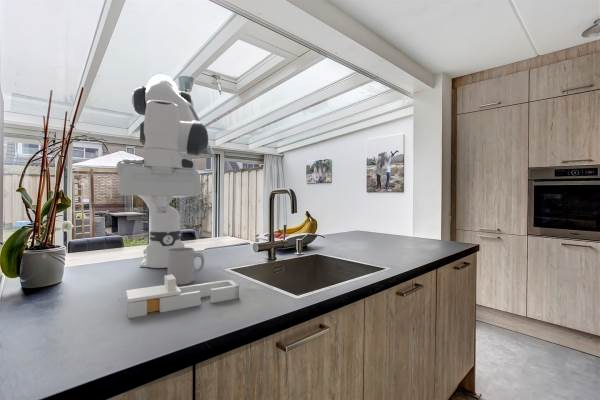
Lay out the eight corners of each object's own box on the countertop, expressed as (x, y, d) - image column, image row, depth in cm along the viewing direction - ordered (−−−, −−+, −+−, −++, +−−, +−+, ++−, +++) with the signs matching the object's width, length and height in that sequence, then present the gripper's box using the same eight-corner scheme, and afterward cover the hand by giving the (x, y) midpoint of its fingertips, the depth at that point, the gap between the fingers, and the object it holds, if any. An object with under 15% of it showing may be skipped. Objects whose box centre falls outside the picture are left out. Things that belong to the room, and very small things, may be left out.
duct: (126, 308, 79) (126, 294, 79) (230, 291, 94) (230, 279, 94) (128, 318, 73) (128, 303, 73) (239, 298, 88) (239, 285, 88)
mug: (169, 286, 98) (169, 252, 98) (165, 280, 106) (165, 248, 105) (207, 281, 104) (207, 249, 104) (201, 275, 112) (201, 245, 111)
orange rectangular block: (133, 310, 78) (133, 299, 78) (171, 304, 83) (171, 293, 83) (134, 314, 75) (134, 302, 75) (173, 307, 80) (173, 296, 80)
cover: (126, 293, 79) (126, 278, 79) (175, 286, 86) (175, 272, 86) (128, 302, 73) (128, 286, 73) (181, 294, 79) (181, 279, 79)
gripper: (117, 157, 73) (116, 214, 74) (203, 163, 84) (202, 213, 85) (116, 158, 79) (115, 212, 79) (197, 164, 90) (196, 211, 90)
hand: (161, 212), depth 82 cm, fingers closed
